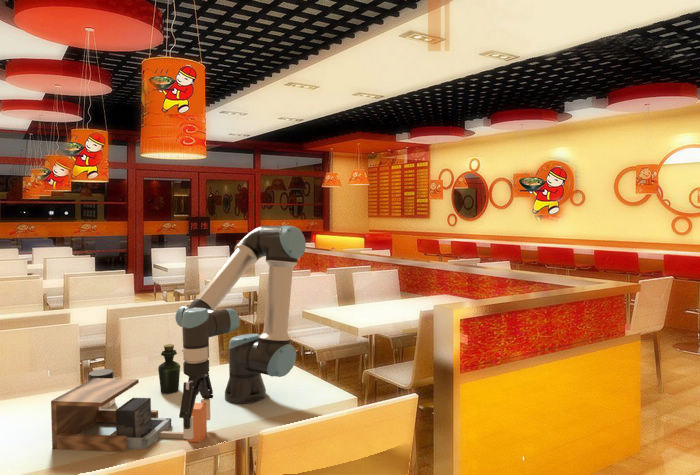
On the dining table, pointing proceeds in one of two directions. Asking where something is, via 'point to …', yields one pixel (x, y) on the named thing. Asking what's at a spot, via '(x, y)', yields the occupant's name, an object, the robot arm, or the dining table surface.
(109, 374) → the jar
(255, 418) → the dining table surface
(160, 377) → the potion bottle
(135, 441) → the grey and orange frame
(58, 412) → the shelf lane
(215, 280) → the robot arm
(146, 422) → the small box
